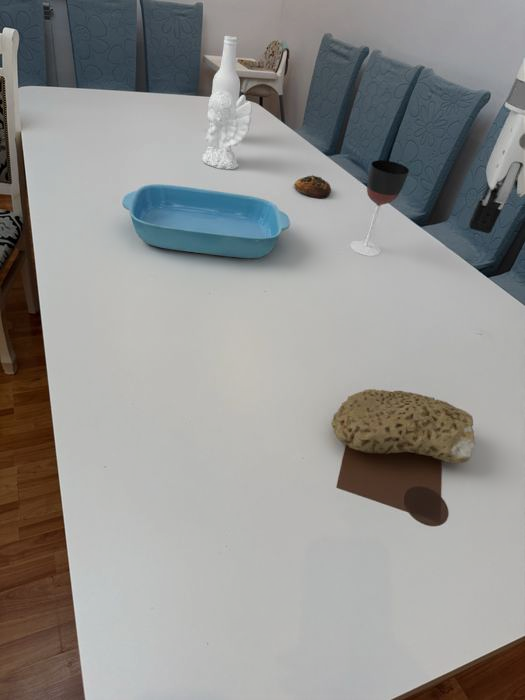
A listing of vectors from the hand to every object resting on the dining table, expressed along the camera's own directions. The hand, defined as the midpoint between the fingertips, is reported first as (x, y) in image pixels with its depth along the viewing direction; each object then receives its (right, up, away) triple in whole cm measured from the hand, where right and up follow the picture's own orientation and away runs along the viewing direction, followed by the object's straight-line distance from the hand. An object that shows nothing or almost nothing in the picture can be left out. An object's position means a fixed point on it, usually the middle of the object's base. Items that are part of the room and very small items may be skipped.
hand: (479, 228), depth 76 cm
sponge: (-13, -32, -2) cm, 35 cm away
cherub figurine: (-46, +39, +77) cm, 97 cm away
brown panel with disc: (-14, -34, -4) cm, 37 cm away
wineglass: (-8, +6, +46) cm, 47 cm away
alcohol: (-47, +54, +94) cm, 118 cm away
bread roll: (-19, +28, +69) cm, 77 cm away
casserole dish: (-46, +7, +38) cm, 60 cm away
